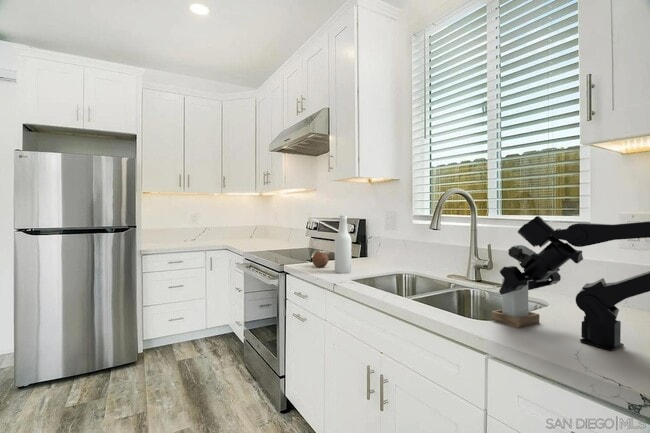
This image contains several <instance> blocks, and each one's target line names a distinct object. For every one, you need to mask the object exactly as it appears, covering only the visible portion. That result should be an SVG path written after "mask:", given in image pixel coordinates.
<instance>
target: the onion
mask: <svg viewBox="0 0 650 433" xmlns="http://www.w3.org/2000/svg"><path fill="white" fill-rule="evenodd" d="M311 261H312V264H313V265H314V266H315V267H316V268H321V267H322V268H326V266H327V264H329V256H328V255H327V253H326V252H323V251H316V252H315V253H314V254H313V256H312V259H311Z"/></svg>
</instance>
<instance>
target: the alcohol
mask: <svg viewBox="0 0 650 433" xmlns="http://www.w3.org/2000/svg"><path fill="white" fill-rule="evenodd" d="M347 217H348V216H347V215H346V214H345V215H343V214H340V215H339V223H338V224H339V225H338V232H337V233H336V235H335V237H334V272H335V273H337V274H340V273H347V274H351V272H352V236H351V235H350V233H349V230H348V220H347V219H348V218H347Z"/></svg>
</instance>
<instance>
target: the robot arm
mask: <svg viewBox="0 0 650 433" xmlns="http://www.w3.org/2000/svg"><path fill="white" fill-rule="evenodd" d="M517 234H519V235H520V236H521V237H522V238H523V239H524V240H525V241H526V242H528V244H530V245H531V246H532V247H534V248H535V247H539V248H540V249H541V248H543V247H544V246H546V247H544V248H543V249H542V250H541V251H539V252H538V253H537V252H536V251H534V250H532V249H530V248H529V247H527V246H525V245H522V244H517V245H513V246H511V247H510V248H509V249H508V256H509V257H510V258H513V259H514V260H516V261H517V262H519V264H518V265H519V267H521V268H522V269H523V272H522V271H521V270H520V269H519V268H518V266H515V265H509V266H508V265H507V266H503V267H502V268H501V269H499V274H500V275H501V276H502V278H504V282H503V284H501V287H500V289H499V294H500V295H501V296H502V294H506V293H510V292H513V291H517V290H521V289H522V288H523V287H525V286H526V285H527V281H528V291H532V290H535V289H540V288H544V287H548V286H552V285H556V284H558V283H559V282H560V281H561V277H562V276H561V274H560V273H559V272H560V270H561V269H560V268H561V267H562V266H563V265H564V264H566V263H567V262H568V261H570V260H571V261H573V263H574V264H577V265H578V264H579V263H580V262H582V261H583V260H584V257H583V250H577V249H576V248H581V247H588V246H592V245H597V244H602V243H606V242H611V241H618V240H632V239H635V240H636V239H647V238H650V221H649V220H648V221H636V222H627V223H616V224H615V223H614V224H606V223H590V222H587V223H586V222H579V223H574V224H571V225H569V226H568V227H567V228H564V229H561V228H556V229H554V228H553V227H552V226H550V225H549V223H547V222H546V221H545V220H544V218H542V217H541V216H539V215H537V216H535V217H534V218H532V219H531V220H529V221H528V222H526V223H524V224H523V225H522V226H521V227H520V228H519V229H518V230H517ZM563 241H566V242H563ZM549 242H550V243H549ZM547 243H549V244H547ZM546 244H547V245H546ZM575 247H576V248H575ZM649 292H650V270H649V271H646V272H642V273H640V274H637V275H634V276H631V277H627V278H625V279H622V280H619V281H614V282H606V280H605V278H603V277H602V278H600V279H598V280H596V281H595V282H591V283H585V284H584V286H582V289H581V290H580V291H579V292H578V293H577V294H576V296H575V304H576V306H577V307H578V308H579V310H581V311H582V312H584V315H583V321H581V330H580V331H581V334H580V335H581V338H580V339H579V341H580V343H584V344H586V345H591V346H594V347H596V348H600V349H604V350H607V351H616V350H617V349H618V350H619V349H620V348H622V347H624V345H625V344H624V343H622V342H621V328H622V327H621V324H622V323H621V322H622V321H621V320H617V318H618V314H619V311H620V309H619V308H618V307H617V306H616V305H617V304H619V303H621V302H623V301H624V300H626V299H629V298H631V297H635V296H639V295H642V294H645V293H649Z"/></svg>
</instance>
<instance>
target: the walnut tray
mask: <svg viewBox="0 0 650 433" xmlns="http://www.w3.org/2000/svg"><path fill="white" fill-rule="evenodd" d="M491 320H492V321H495V322H498V323H501V322H502V323H501V324H504V325H507V324H508V325H507V326H510V325H511V327H514V328H517V329H521V328H526V327H530V326H533V325H535V324H540V314H539V313H536V312H532V311H529V310H528V316H526V317H521V318H516V317H512V316H509V315H505V314H502V308H501V309H497V310H492V311H491ZM500 321H501V322H500Z"/></svg>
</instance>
